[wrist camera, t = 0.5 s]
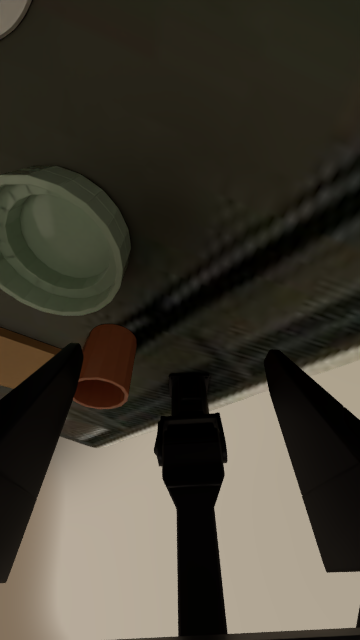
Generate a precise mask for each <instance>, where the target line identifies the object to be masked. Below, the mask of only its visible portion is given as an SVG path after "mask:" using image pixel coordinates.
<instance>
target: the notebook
mask: <svg viewBox="0 0 360 640" xmlns="http://www.w3.org/2000/svg"><path fill="white" fill-rule="evenodd" d="M61 350H62V349H59V348H56V347H54V346H51V345H48V344H45V343H43V342H40V341H37V340H34V339H31V338H29V337H26V336H23V335H20V334H18V333H15V332H12V331H9V330H6V329H4V328H1V327H0V385H2V386H5V387H9V388H13V389H14V388H15V387H17V386H18V385H19V384H20V383H22V382H23V381H24V380H25V379H26V378H28V377H29V376H30V375H31V374H33V373H34V372H35V371H36V370H37V369H39V368H40V367H41V366H42V365H44V364H45V363H46V362H47V361H49V360H50V359H51V358H52V357H53V356H55V355H56V354H57V353H58V352H60V351H61Z"/></svg>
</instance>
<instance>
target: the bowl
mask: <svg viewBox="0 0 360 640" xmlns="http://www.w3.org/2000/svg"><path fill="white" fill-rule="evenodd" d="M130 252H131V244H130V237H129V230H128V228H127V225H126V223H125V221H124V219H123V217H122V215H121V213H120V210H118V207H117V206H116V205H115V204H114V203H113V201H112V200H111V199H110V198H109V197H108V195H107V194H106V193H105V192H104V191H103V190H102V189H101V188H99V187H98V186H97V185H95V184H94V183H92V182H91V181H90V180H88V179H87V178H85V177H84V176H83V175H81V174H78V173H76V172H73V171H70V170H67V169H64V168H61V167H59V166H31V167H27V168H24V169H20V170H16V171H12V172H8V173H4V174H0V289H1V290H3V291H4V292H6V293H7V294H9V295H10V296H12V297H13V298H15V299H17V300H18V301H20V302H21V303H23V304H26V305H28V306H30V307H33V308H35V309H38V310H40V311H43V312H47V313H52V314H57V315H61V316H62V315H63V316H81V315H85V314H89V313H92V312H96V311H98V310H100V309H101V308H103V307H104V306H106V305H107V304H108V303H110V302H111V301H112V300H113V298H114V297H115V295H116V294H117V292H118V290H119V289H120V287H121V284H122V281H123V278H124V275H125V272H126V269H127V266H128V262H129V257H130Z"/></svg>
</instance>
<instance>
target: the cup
mask: <svg viewBox="0 0 360 640" xmlns="http://www.w3.org/2000/svg"><path fill="white" fill-rule="evenodd" d="M136 347H137V340H136V338H135V336H134V334H133V333H132V332H131V331H129V330H128V329H126V328H124V327H122V326H119V325H115V324H103V325H99V326H97V327H95V328H94V329H92V330H91V332H90V333H89V336H88V337H87V339H86V342H85V344H84V347H83V349H82V352H83V355H84V360H83V364H82V368H81V373H80V377H79V381H78V385H77V389H76V392H75V395H74V398H73V401H75V402H76V403H79V404H81V405H83V406H86V407H90V408H96V409H112V408H115V407H119V406H122V405H123V404H124V403H125V402H126V401H127V400H128V394H129V389H130V383H131V377H132V371H133V365H134V359H135V353H136Z"/></svg>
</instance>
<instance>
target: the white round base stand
mask: <svg viewBox="0 0 360 640" xmlns="http://www.w3.org/2000/svg"><path fill="white" fill-rule="evenodd" d="M31 1H32V0H0V39H2V38H3V37H5V36H7V35H8V34H9V33H10V32H12V31H13V30H14V29H15V28H16V27H17V26H18V24H19V23H20V22H21V21H22V19H23V17H24V16H25V14H26V12H27V10H28V8H29V6H30V4H31Z"/></svg>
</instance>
